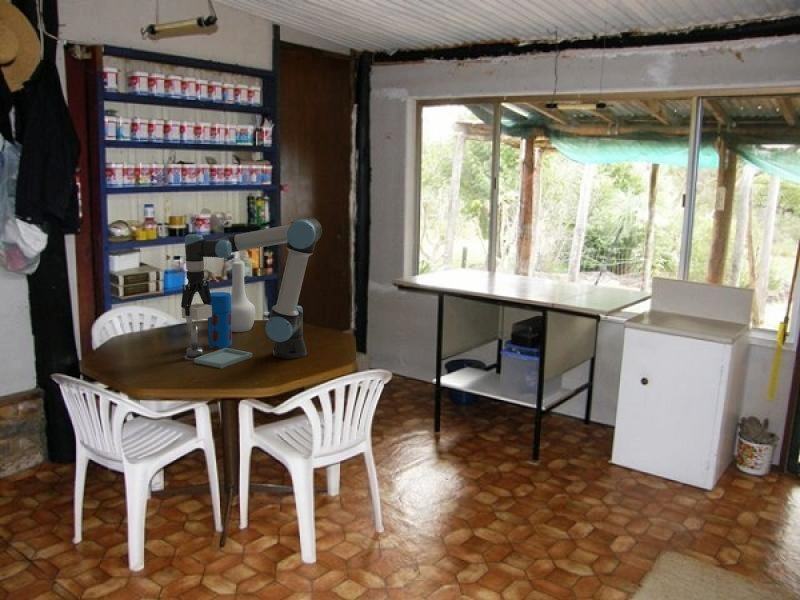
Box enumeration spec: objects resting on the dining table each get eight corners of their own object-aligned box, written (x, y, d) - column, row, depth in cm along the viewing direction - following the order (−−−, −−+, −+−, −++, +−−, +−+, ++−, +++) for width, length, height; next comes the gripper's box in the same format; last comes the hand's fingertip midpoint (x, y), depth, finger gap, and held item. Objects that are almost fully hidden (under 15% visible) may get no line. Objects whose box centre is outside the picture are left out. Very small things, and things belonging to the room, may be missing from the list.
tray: (252, 357, 320) (252, 352, 320) (221, 368, 302) (221, 364, 302) (225, 352, 327) (225, 347, 326) (194, 362, 309) (194, 358, 309)
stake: (209, 356, 319) (208, 324, 316) (195, 361, 311) (194, 328, 308) (194, 353, 323) (193, 321, 320) (180, 358, 315) (178, 325, 312)
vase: (221, 326, 373) (220, 260, 366) (253, 325, 378) (252, 259, 371) (223, 334, 358) (222, 265, 351) (257, 332, 363) (256, 264, 356)
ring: (212, 316, 315) (211, 305, 314) (197, 320, 307) (197, 309, 306) (193, 313, 320) (192, 302, 319) (178, 317, 312) (178, 306, 311)
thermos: (225, 349, 331) (224, 297, 326) (204, 347, 333) (202, 295, 328) (235, 343, 341) (234, 292, 336) (215, 342, 343) (213, 291, 338)
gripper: (206, 266, 320) (208, 314, 324) (170, 272, 301) (172, 324, 305) (219, 267, 316) (220, 316, 321) (183, 274, 297) (185, 326, 302)
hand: (197, 320), depth 313 cm, fingers closed on ring, 9 cm apart
